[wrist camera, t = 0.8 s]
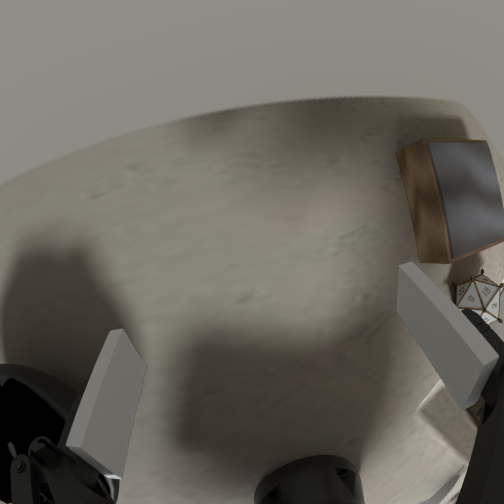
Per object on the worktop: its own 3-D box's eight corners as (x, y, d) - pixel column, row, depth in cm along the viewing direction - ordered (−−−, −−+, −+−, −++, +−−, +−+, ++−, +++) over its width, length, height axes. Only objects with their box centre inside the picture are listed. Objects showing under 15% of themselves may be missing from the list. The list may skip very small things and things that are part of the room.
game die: (443, 283, 38) (490, 246, 31) (470, 323, 36) (519, 292, 28) (427, 312, 33) (485, 272, 25) (458, 358, 30) (517, 326, 23)
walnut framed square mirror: (481, 240, 35) (509, 239, 29) (419, 262, 33) (451, 264, 27) (461, 149, 35) (488, 139, 29) (395, 152, 33) (424, 138, 27)
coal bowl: (-10, 334, 26) (-107, 374, 7) (120, 347, 29) (35, 443, 10) (29, 457, 26) (-25, 527, 7) (149, 481, 29) (129, 588, 10)
